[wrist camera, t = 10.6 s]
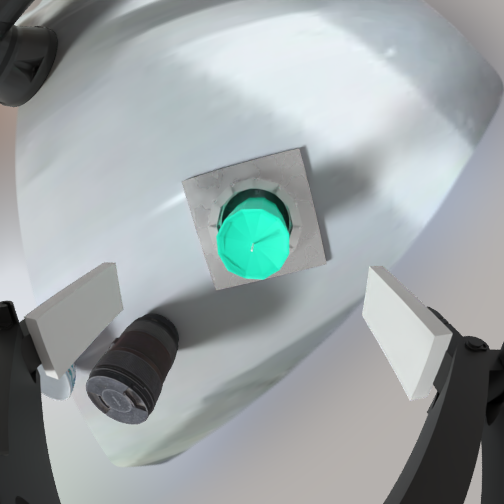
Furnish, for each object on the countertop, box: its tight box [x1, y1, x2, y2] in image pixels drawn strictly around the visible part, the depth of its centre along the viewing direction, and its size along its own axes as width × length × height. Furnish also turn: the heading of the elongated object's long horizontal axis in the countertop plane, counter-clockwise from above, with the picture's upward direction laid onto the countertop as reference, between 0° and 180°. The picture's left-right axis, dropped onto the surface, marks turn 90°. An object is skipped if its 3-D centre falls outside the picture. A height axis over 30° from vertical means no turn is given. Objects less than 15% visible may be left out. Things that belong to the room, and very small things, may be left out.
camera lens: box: [86, 314, 179, 424], centre depth 31 cm, size 8×8×15 cm
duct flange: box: [182, 149, 326, 290], centre depth 32 cm, size 14×14×3 cm
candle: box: [216, 197, 289, 280], centre depth 27 cm, size 6×6×12 cm
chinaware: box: [37, 363, 76, 401], centre depth 38 cm, size 15×15×8 cm
